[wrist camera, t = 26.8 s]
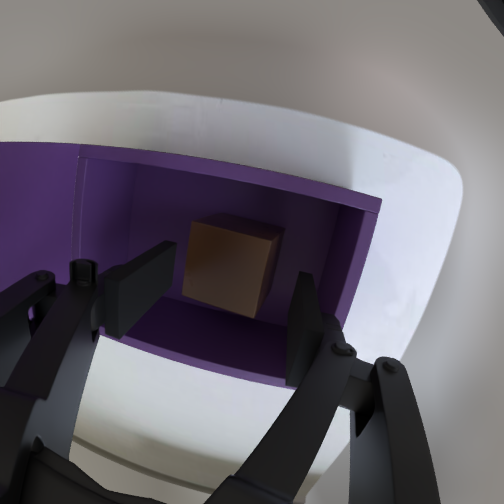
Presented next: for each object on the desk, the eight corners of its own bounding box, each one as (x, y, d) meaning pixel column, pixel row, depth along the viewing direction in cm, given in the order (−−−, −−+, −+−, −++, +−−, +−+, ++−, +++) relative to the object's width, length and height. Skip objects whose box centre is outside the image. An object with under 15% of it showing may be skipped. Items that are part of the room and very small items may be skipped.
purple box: (352, 190, 22) (382, 199, 14) (310, 335, 25) (316, 393, 18) (136, 148, 23) (79, 143, 15) (122, 287, 26) (74, 324, 19)
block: (285, 228, 21) (271, 240, 17) (270, 291, 23) (253, 319, 18) (220, 212, 22) (191, 220, 18) (210, 273, 24) (180, 295, 19)
